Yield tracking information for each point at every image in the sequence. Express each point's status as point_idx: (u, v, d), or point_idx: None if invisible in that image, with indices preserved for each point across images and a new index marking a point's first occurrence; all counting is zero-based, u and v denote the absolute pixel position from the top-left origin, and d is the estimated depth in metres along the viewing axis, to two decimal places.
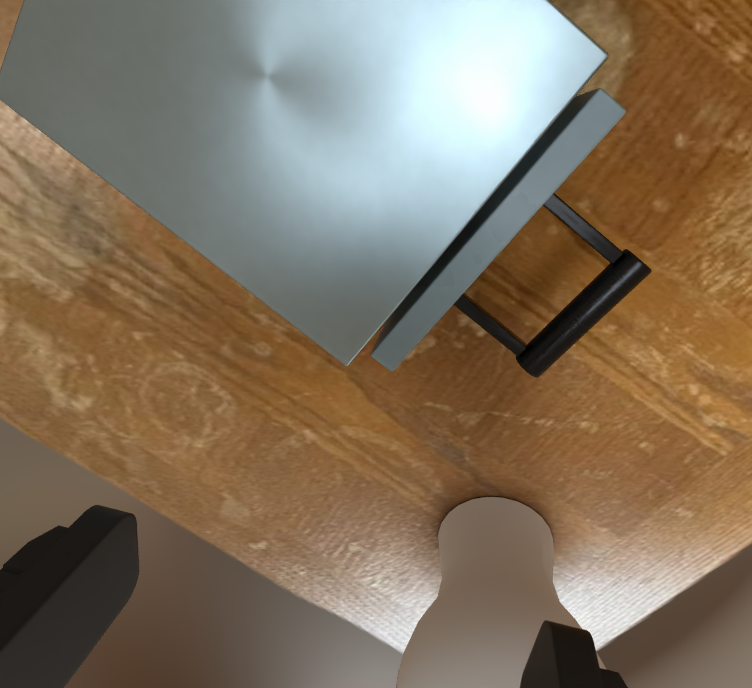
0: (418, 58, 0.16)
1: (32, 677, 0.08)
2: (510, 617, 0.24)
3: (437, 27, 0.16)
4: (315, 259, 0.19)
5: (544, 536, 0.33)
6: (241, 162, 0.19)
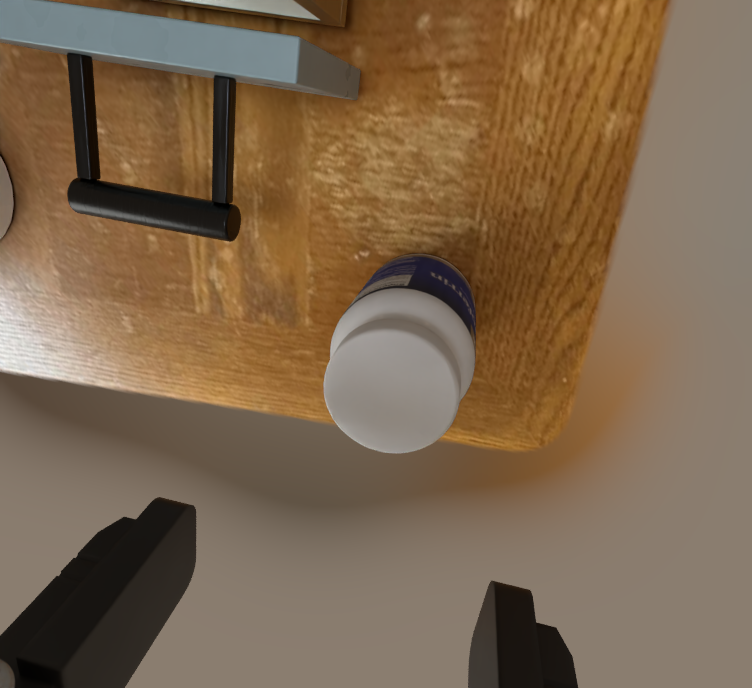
0: None
1: (113, 659, 0.08)
2: None
3: None
4: None
5: None
6: None
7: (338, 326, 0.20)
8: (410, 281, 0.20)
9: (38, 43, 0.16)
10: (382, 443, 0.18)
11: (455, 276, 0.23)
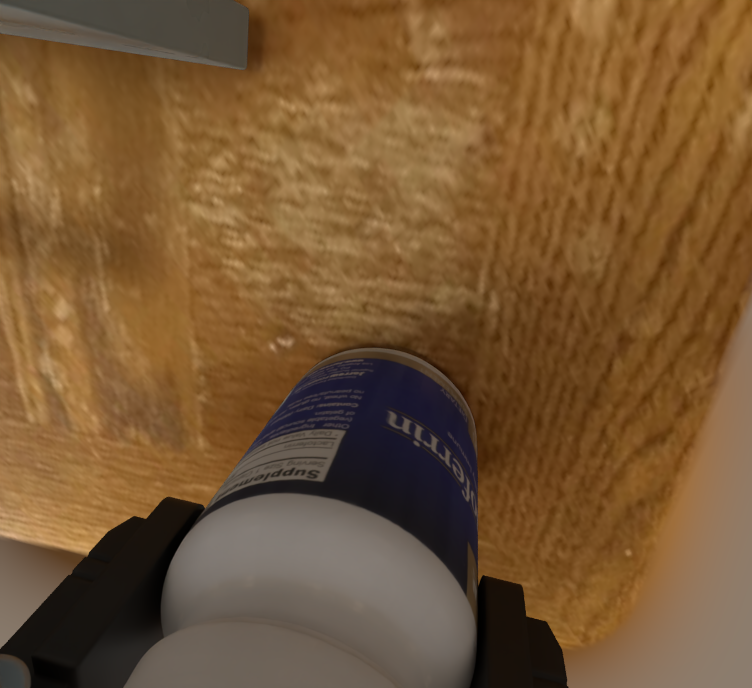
0: None
1: (125, 657, 0.08)
2: None
3: None
4: None
5: None
6: None
7: (170, 569, 0.09)
8: (335, 459, 0.09)
9: None
10: None
11: (439, 402, 0.12)
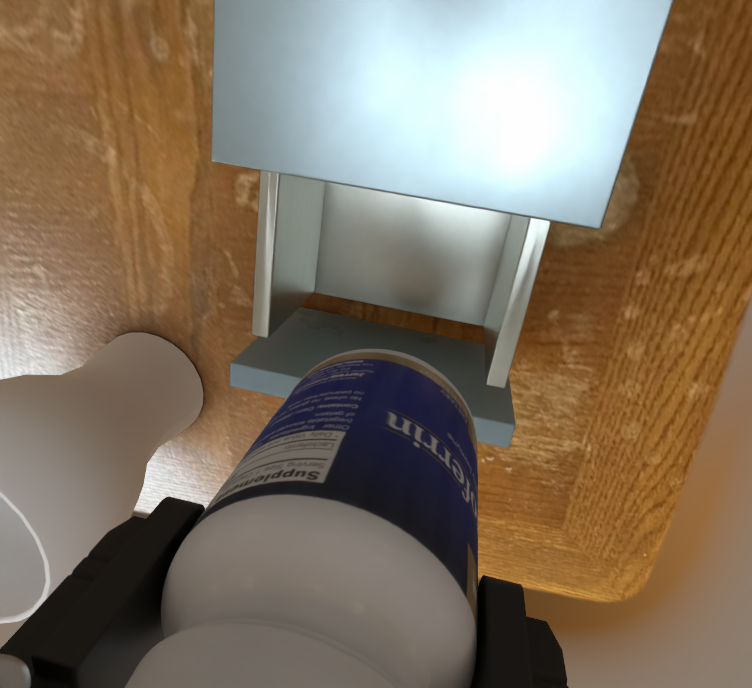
0: (532, 59, 0.16)
1: (125, 657, 0.08)
2: (102, 442, 0.24)
3: (567, 61, 0.16)
4: (293, 62, 0.17)
5: (188, 417, 0.34)
6: None
7: (170, 570, 0.09)
8: (335, 460, 0.09)
9: None
10: None
11: (439, 403, 0.13)
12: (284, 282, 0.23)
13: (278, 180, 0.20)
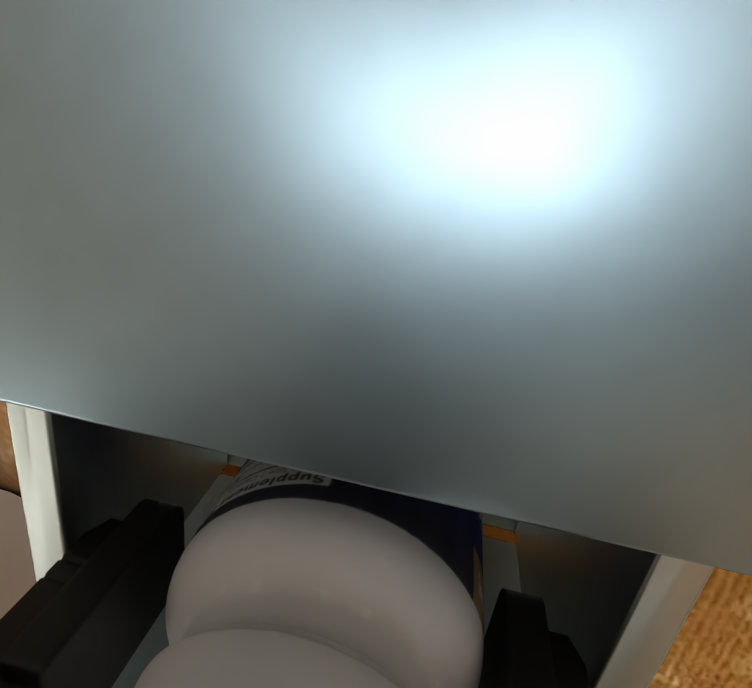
0: None
1: (97, 661, 0.08)
2: None
3: None
4: None
5: None
6: None
7: (175, 574, 0.09)
8: None
9: None
10: None
11: None
12: None
13: None
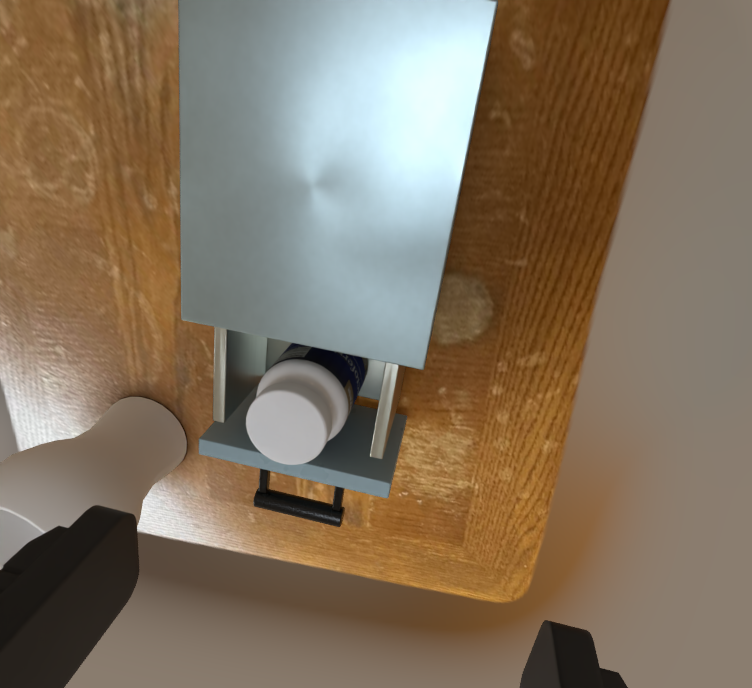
0: (371, 275, 0.26)
1: (32, 677, 0.08)
2: (110, 492, 0.34)
3: (392, 277, 0.26)
4: (230, 268, 0.27)
5: (175, 461, 0.44)
6: (255, 191, 0.25)
7: (260, 382, 0.31)
8: (307, 352, 0.31)
9: (263, 468, 0.33)
10: (283, 458, 0.29)
11: None
12: (236, 382, 0.33)
13: None
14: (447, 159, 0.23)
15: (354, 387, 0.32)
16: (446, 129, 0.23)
